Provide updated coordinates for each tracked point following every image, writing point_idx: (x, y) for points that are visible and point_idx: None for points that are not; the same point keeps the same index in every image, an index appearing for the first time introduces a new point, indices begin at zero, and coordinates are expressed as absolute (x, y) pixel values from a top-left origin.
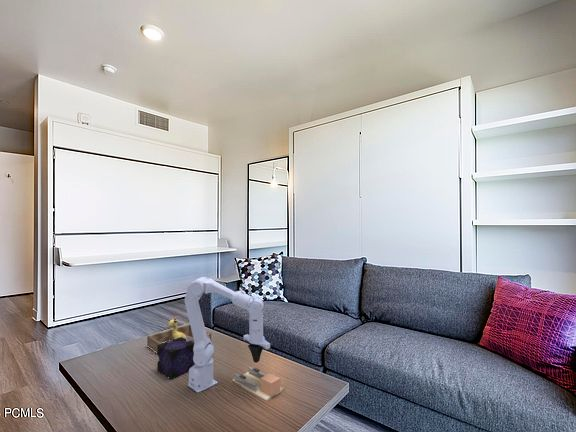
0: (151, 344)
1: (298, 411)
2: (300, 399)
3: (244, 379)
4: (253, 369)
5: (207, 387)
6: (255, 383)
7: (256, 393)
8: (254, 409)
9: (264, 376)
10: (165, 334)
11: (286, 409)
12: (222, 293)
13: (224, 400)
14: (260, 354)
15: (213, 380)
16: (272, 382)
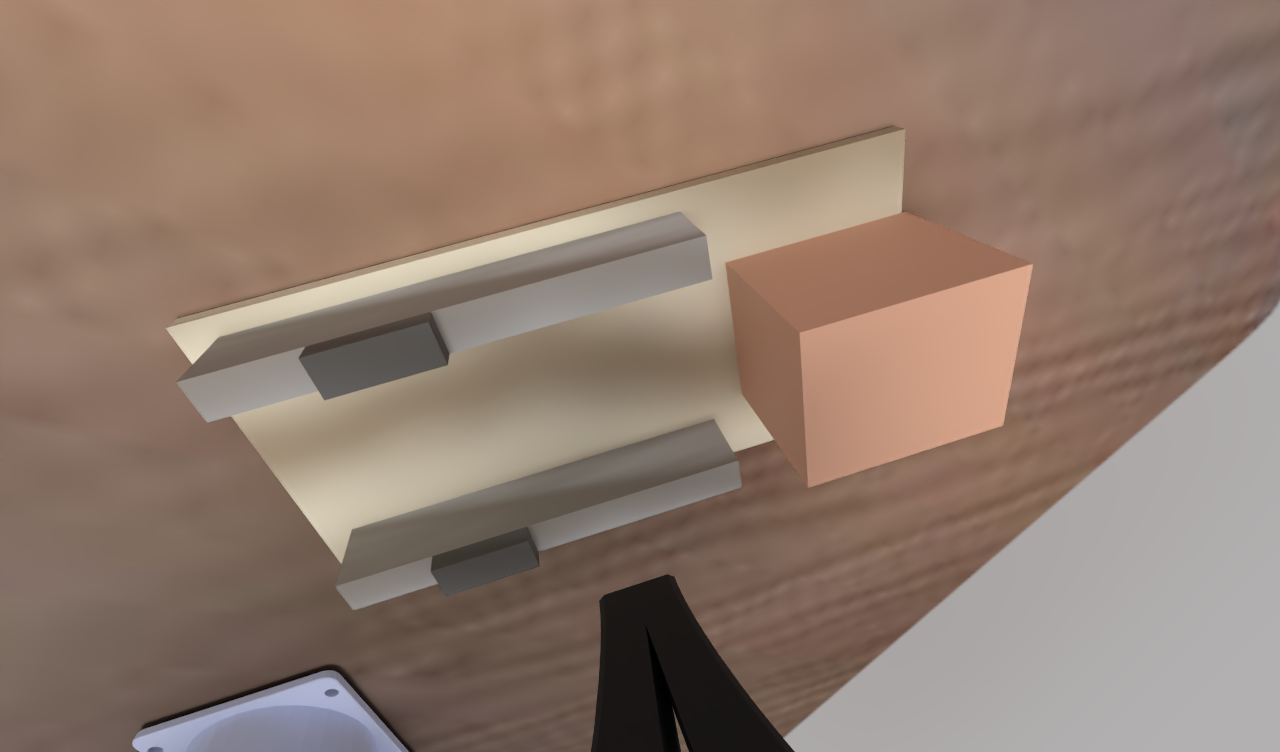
0: None
1: (1200, 225)
2: (1150, 79)
3: (547, 547)
4: (339, 390)
5: (389, 735)
6: (709, 473)
7: (751, 443)
8: (886, 502)
9: (818, 435)
10: None
11: (1095, 300)
12: None
13: None
14: (754, 712)
15: (275, 704)
16: (1005, 404)
